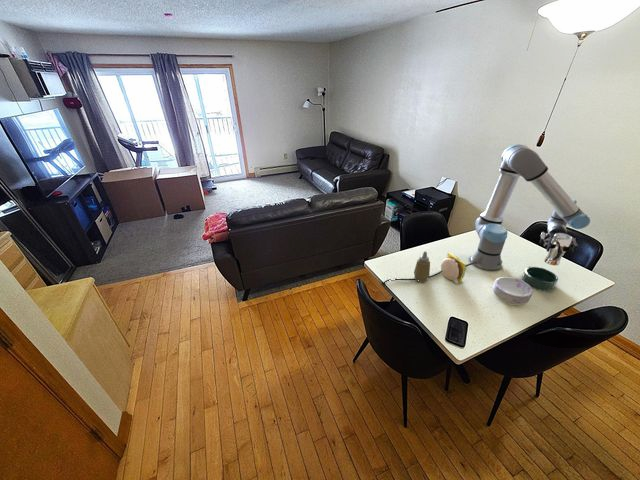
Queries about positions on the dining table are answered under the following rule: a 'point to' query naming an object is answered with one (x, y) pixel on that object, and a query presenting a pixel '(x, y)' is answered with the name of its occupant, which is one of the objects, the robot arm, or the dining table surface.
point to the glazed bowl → (539, 278)
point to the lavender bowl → (512, 290)
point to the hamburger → (453, 268)
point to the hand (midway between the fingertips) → (558, 251)
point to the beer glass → (558, 248)
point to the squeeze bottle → (422, 268)
